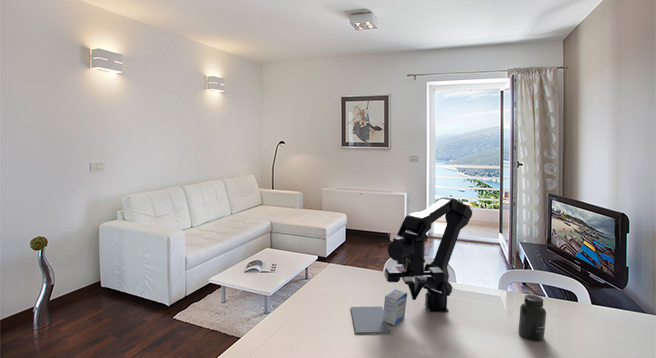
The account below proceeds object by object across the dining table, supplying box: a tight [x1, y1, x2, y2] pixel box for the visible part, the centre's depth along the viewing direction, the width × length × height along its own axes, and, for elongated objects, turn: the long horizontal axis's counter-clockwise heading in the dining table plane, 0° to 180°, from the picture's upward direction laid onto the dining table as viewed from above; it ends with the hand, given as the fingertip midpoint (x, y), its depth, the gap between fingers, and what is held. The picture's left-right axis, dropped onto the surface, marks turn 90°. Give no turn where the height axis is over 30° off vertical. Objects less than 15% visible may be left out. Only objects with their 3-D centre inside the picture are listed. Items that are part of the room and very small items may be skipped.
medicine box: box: [383, 288, 408, 326], centre depth 114 cm, size 8×4×9 cm, turn 143°
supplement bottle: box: [518, 294, 547, 342], centre depth 105 cm, size 7×7×12 cm
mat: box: [350, 306, 392, 335], centre depth 114 cm, size 11×16×1 cm
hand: (413, 299), depth 114 cm, fingers closed
